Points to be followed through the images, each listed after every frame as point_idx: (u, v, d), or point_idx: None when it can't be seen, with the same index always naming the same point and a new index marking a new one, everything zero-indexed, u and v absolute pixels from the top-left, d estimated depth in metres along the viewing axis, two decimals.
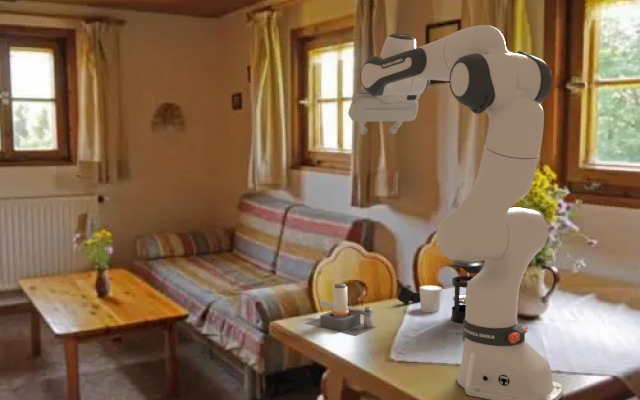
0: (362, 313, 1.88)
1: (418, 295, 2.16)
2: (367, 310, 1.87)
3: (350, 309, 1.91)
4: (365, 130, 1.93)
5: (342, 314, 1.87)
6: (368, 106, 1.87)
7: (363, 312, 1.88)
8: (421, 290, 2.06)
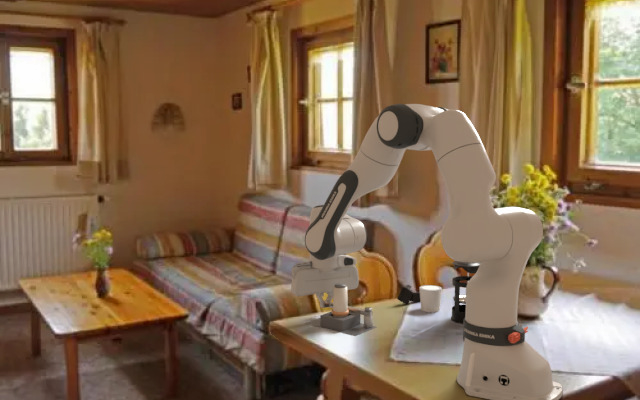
0: (362, 313, 1.88)
1: (418, 295, 2.16)
2: (367, 310, 1.87)
3: (350, 309, 1.91)
4: (325, 303, 1.94)
5: (342, 314, 1.87)
6: (309, 278, 1.90)
7: (363, 312, 1.88)
8: (421, 290, 2.06)
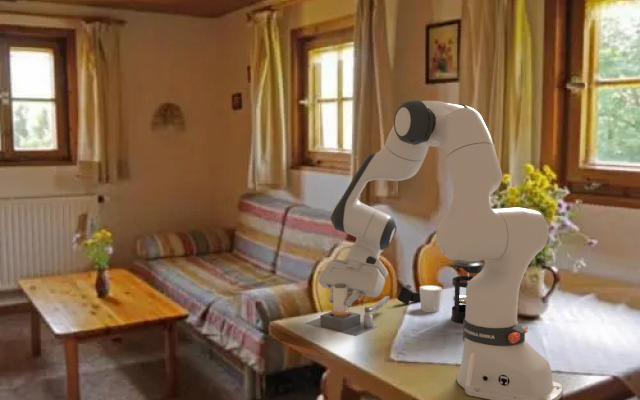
0: None
1: (418, 295, 2.16)
2: None
3: None
4: (332, 295, 1.90)
5: (342, 314, 1.87)
6: (335, 269, 1.96)
7: None
8: (421, 290, 2.06)
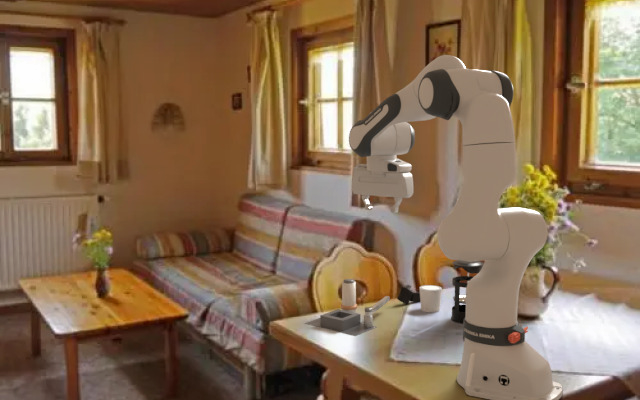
0: None
1: (418, 295, 2.16)
2: None
3: None
4: (367, 205, 2.04)
5: (351, 308, 1.97)
6: (362, 178, 2.03)
7: None
8: (421, 290, 2.06)
